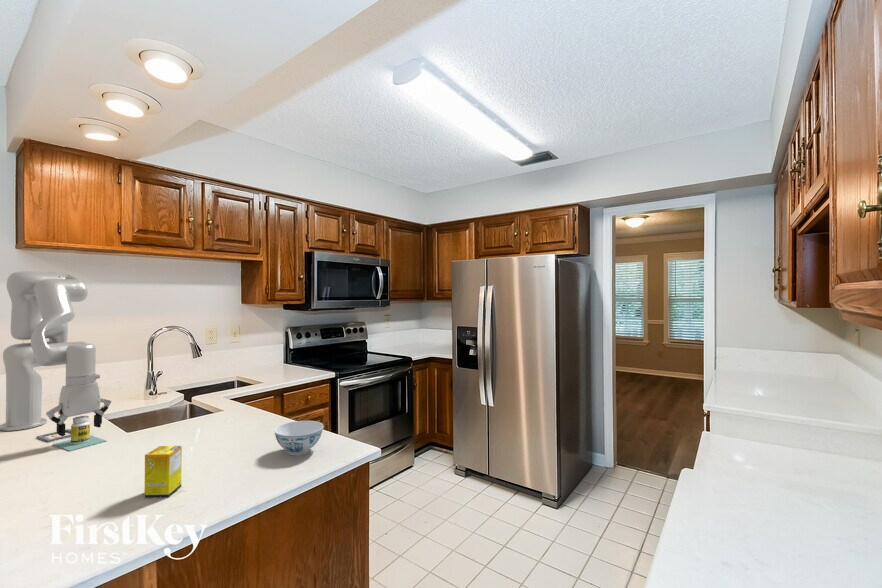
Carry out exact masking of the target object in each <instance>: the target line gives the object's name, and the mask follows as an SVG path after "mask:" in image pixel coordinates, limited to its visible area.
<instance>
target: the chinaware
mask: <svg viewBox="0 0 882 588" xmlns="http://www.w3.org/2000/svg"><path fill="white" fill-rule="evenodd" d="M323 430H324V424H323V423H322V422H320V421H315V420H295V421H290V422H286V423H283V424H280V425H279V426H277V427H275V428H274V437H275V439H276V441H277V444H279V446H280V447H281V448H282V449H284V450H285V451H286V452H287V453H288V455H291V456H301V455H306V454H309V453H310V452H311V449H312V448H314V446H315V445H316V444H317V443H318V442H319V441H320V438H321V437H322V434H323Z"/></svg>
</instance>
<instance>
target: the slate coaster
mask: <svg viewBox="0 0 882 588" xmlns="http://www.w3.org/2000/svg"><path fill="white" fill-rule="evenodd" d="M66 432H67V433H70V434H67V433H66ZM54 434H55V435H54ZM49 435H50V436H51V438H50V437H49ZM45 436H46V437H45ZM55 436H56V437H55ZM38 438H39V439H38ZM68 438H71V428H65V435H64V436H60V435H58V434H57V431H53V432H50V433H46V434H41V435H36V439H38V440H42V441H43V440H44V442H47V443H51V442H55V440H56V441H59V439H60V440H63V439H68Z"/></svg>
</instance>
